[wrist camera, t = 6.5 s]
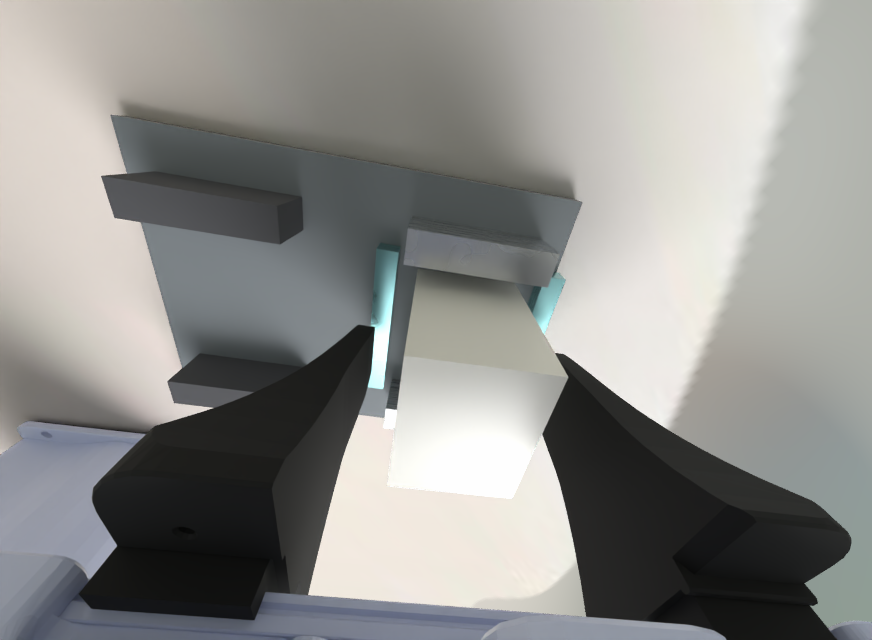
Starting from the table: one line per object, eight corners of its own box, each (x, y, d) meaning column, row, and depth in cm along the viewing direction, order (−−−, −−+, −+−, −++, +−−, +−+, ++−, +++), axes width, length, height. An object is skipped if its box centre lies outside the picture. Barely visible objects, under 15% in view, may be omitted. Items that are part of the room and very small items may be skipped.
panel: (197, 385, 16) (189, 393, 16) (126, 116, 11) (110, 114, 10) (494, 423, 18) (496, 431, 17) (575, 199, 12) (582, 202, 11)
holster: (204, 373, 15) (174, 402, 13) (155, 171, 11) (101, 175, 9) (309, 386, 16) (293, 416, 14) (302, 196, 11) (277, 206, 9)
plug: (404, 366, 15) (386, 486, 10) (418, 268, 12) (403, 355, 7) (486, 377, 15) (512, 498, 10) (514, 282, 13) (568, 376, 8)
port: (367, 394, 16) (358, 425, 14) (382, 210, 11) (372, 222, 10) (505, 411, 16) (513, 443, 15) (569, 243, 12) (592, 259, 10)
